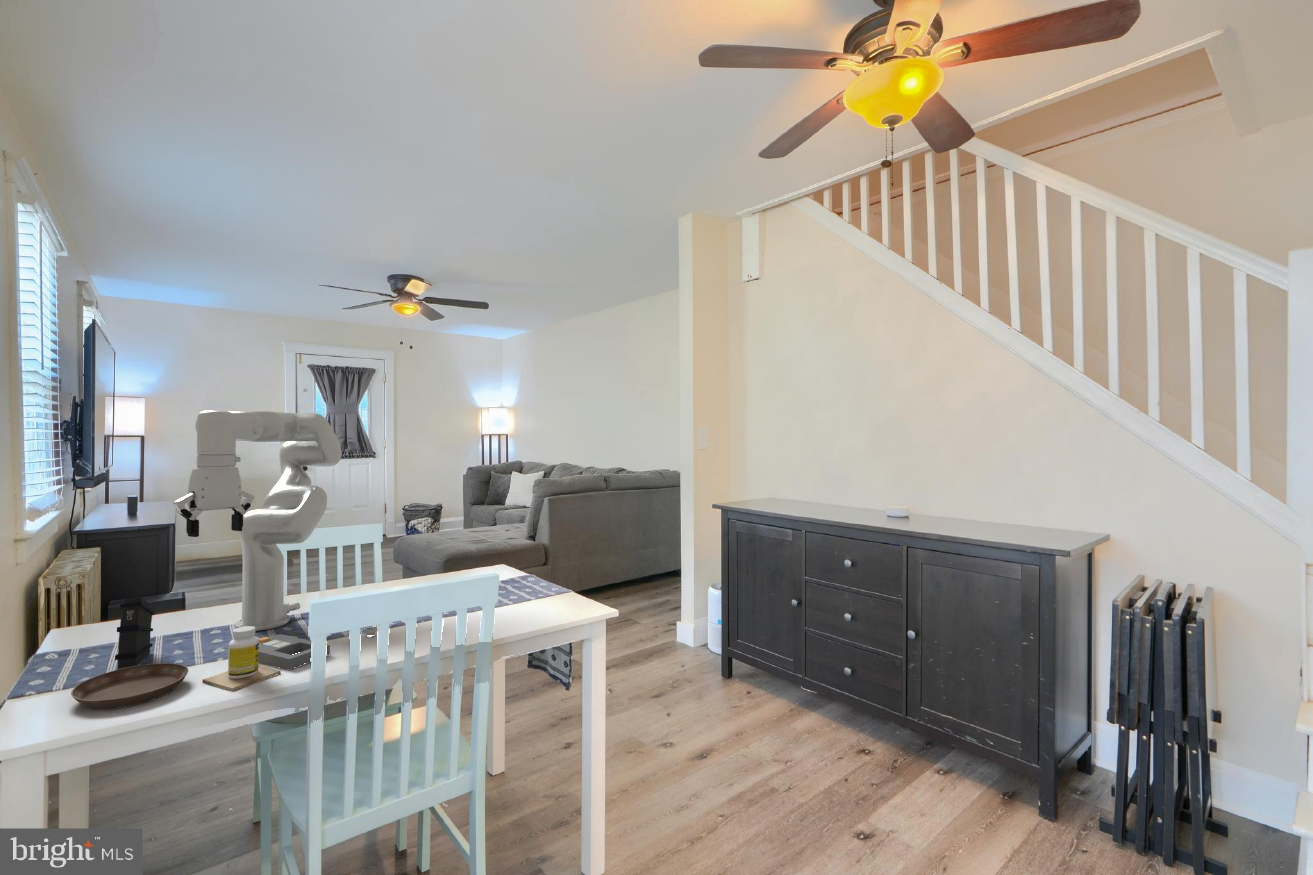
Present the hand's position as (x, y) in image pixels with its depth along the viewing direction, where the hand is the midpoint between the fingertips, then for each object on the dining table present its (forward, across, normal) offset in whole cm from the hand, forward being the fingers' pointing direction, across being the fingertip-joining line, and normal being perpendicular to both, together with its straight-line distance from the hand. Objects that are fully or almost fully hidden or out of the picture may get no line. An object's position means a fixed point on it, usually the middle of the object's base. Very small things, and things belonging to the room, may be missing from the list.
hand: (215, 533), depth 144 cm
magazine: (+28, +11, -10) cm, 32 cm away
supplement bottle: (+28, +7, +22) cm, 36 cm away
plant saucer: (+29, +21, +10) cm, 37 cm away
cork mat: (+28, +7, +22) cm, 37 cm away
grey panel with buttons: (+28, -5, +18) cm, 34 cm away
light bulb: (+28, -24, +24) cm, 44 cm away
